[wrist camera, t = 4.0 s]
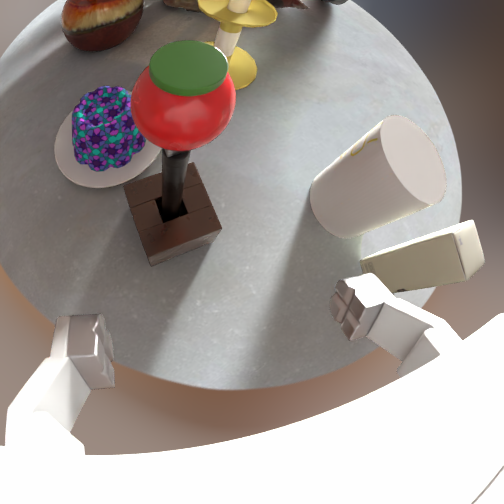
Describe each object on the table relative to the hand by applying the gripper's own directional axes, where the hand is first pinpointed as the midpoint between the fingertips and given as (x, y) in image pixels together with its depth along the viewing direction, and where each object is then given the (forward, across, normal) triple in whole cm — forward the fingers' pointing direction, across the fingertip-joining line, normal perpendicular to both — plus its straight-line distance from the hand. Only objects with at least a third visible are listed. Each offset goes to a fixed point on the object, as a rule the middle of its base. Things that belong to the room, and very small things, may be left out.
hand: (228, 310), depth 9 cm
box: (+12, -21, +11) cm, 27 cm away
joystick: (+17, +1, +6) cm, 18 cm away
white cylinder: (+18, -18, +5) cm, 25 cm away
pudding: (+24, +7, -1) cm, 25 cm away
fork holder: (+17, +1, +6) cm, 18 cm away
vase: (+37, +10, -14) cm, 41 cm away
